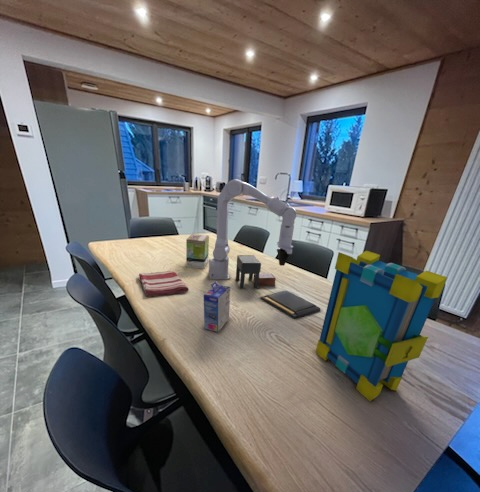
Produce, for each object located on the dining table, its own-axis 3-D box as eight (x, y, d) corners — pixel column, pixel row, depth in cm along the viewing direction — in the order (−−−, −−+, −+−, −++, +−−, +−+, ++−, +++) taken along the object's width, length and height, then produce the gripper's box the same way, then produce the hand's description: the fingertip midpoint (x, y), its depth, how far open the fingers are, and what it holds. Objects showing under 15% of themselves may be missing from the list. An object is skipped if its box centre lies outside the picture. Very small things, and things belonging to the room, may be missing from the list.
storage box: (256, 286, 122) (257, 277, 120) (253, 281, 127) (253, 273, 125) (274, 285, 123) (275, 277, 122) (270, 281, 129) (271, 273, 127)
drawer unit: (240, 288, 117) (242, 262, 112) (235, 279, 128) (237, 254, 123) (261, 288, 119) (264, 262, 114) (254, 279, 130) (257, 255, 125)
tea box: (205, 268, 138) (205, 240, 132) (185, 267, 138) (185, 239, 132) (208, 260, 152) (209, 234, 145) (191, 259, 152) (190, 233, 145)
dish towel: (146, 297, 103) (146, 291, 102) (138, 277, 121) (137, 271, 120) (188, 292, 110) (188, 286, 109) (174, 273, 129) (174, 268, 127)
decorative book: (366, 407, 60) (413, 284, 47) (305, 349, 78) (326, 250, 65) (408, 391, 65) (460, 278, 52) (341, 341, 84) (368, 248, 71)
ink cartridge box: (215, 315, 94) (216, 277, 87) (229, 318, 92) (231, 280, 86) (202, 328, 85) (202, 287, 79) (218, 332, 84) (220, 290, 77)
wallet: (322, 306, 102) (294, 314, 94) (321, 310, 103) (293, 319, 95) (287, 288, 117) (260, 294, 109) (286, 291, 118) (259, 298, 110)
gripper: (300, 239, 111) (295, 270, 117) (288, 232, 124) (284, 260, 130) (285, 239, 110) (280, 270, 116) (274, 232, 123) (270, 260, 128)
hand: (281, 265), depth 123 cm, fingers closed
